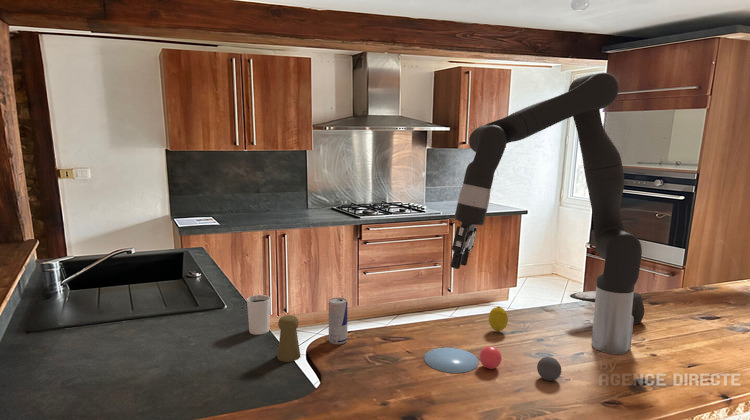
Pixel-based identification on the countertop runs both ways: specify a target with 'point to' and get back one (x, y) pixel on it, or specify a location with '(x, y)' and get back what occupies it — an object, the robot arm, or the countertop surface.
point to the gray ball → (549, 368)
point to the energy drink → (338, 320)
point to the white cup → (258, 314)
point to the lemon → (498, 318)
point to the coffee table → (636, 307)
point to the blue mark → (451, 360)
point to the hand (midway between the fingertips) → (458, 266)
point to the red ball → (490, 357)
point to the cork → (288, 339)
